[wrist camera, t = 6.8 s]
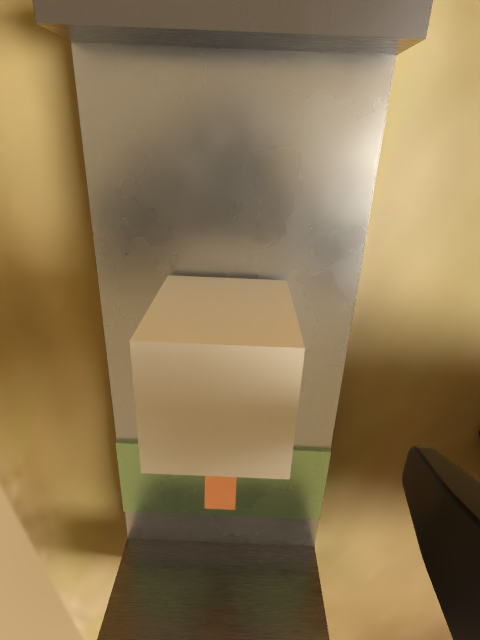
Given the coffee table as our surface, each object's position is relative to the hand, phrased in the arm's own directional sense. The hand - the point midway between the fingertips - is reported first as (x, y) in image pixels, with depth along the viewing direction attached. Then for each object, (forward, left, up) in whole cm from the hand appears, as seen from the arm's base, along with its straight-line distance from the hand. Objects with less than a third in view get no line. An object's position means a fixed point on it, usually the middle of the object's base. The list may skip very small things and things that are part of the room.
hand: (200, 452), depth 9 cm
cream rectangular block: (-2, +1, -6) cm, 7 cm away
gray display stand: (-2, +1, -8) cm, 8 cm away
